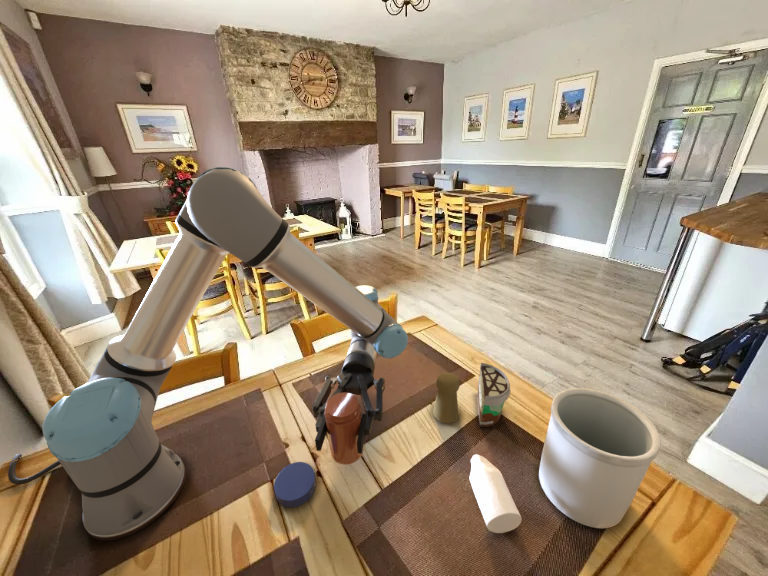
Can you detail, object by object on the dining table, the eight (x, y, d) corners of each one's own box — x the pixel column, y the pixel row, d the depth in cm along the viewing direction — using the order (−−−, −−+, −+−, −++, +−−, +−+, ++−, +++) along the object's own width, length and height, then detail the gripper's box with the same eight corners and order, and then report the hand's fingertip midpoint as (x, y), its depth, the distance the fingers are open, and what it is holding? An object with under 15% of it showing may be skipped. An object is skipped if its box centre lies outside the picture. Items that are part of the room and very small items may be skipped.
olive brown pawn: (463, 418, 73) (467, 382, 68) (441, 426, 71) (443, 389, 66) (449, 400, 78) (452, 365, 73) (428, 408, 76) (430, 372, 72)
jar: (326, 463, 60) (319, 417, 55) (334, 433, 66) (328, 390, 61) (361, 465, 59) (356, 419, 54) (366, 435, 65) (363, 391, 60)
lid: (323, 477, 61) (322, 471, 60) (298, 515, 55) (296, 508, 54) (294, 462, 64) (292, 456, 63) (267, 496, 58) (265, 489, 57)
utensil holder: (518, 459, 63) (533, 393, 56) (582, 446, 66) (605, 381, 58) (570, 541, 50) (599, 469, 43) (648, 521, 52) (689, 450, 45)
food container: (509, 436, 68) (516, 401, 64) (480, 431, 69) (485, 398, 65) (501, 395, 79) (507, 364, 75) (476, 392, 80) (480, 361, 76)
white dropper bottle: (489, 464, 62) (492, 444, 60) (519, 530, 52) (525, 510, 49) (460, 467, 62) (462, 448, 60) (484, 535, 51) (488, 515, 49)
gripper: (400, 377, 76) (394, 464, 56) (322, 374, 78) (288, 457, 58) (400, 352, 73) (393, 435, 53) (318, 349, 75) (281, 428, 54)
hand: (338, 446), depth 55 cm, fingers closed on jar, 7 cm apart
